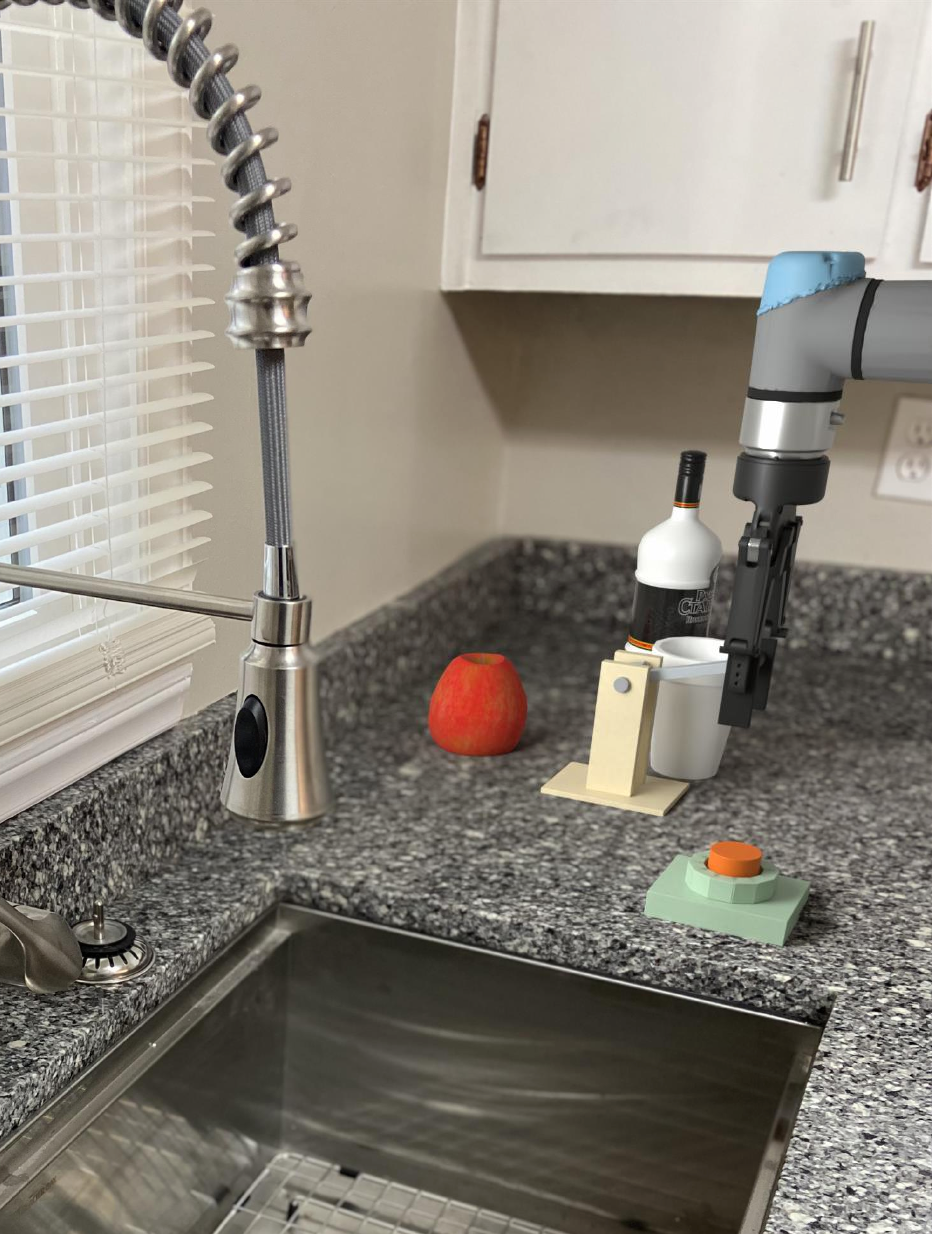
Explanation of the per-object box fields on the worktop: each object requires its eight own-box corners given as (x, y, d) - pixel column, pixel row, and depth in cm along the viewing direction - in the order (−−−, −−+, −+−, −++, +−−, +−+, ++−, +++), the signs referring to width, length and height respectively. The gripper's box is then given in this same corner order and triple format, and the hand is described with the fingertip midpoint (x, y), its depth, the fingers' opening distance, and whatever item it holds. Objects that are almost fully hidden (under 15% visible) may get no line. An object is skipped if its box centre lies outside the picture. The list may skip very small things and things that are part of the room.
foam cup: (743, 791, 147) (766, 662, 141) (649, 790, 147) (669, 662, 141) (713, 759, 156) (734, 636, 150) (625, 758, 156) (643, 636, 150)
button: (763, 867, 121) (767, 847, 120) (752, 884, 118) (755, 864, 117) (714, 857, 123) (717, 837, 122) (701, 873, 120) (704, 853, 119)
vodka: (628, 719, 168) (666, 441, 154) (709, 735, 163) (756, 449, 149) (595, 740, 161) (632, 451, 147) (678, 757, 156) (724, 460, 142)
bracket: (687, 794, 146) (709, 657, 140) (661, 823, 139) (683, 680, 133) (570, 772, 152) (586, 639, 146) (539, 799, 145) (555, 660, 139)
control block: (806, 905, 123) (815, 861, 121) (782, 947, 116) (791, 900, 114) (674, 877, 128) (681, 834, 126) (643, 915, 121) (650, 870, 119)
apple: (498, 731, 164) (507, 637, 159) (540, 761, 155) (551, 662, 150) (412, 738, 161) (418, 642, 156) (449, 769, 152) (457, 669, 148)
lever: (767, 669, 136) (765, 643, 135) (753, 684, 132) (750, 657, 131) (626, 684, 143) (623, 659, 143) (608, 698, 139) (605, 673, 138)
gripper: (808, 469, 117) (760, 751, 127) (851, 442, 131) (805, 697, 142) (711, 462, 120) (672, 737, 131) (764, 436, 135) (725, 685, 145)
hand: (742, 715), depth 136 cm, fingers closed on lever, 5 cm apart
